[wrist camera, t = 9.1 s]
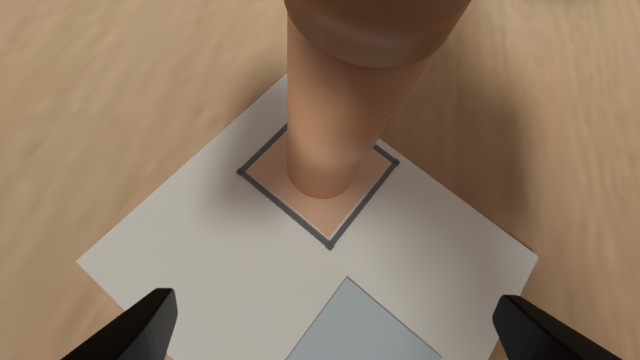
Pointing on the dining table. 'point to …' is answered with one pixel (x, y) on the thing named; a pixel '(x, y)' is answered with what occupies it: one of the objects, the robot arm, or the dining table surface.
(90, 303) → the dining table surface
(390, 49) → the brown tall rounded cylinder
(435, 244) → the colouring sheet
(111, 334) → the robot arm
